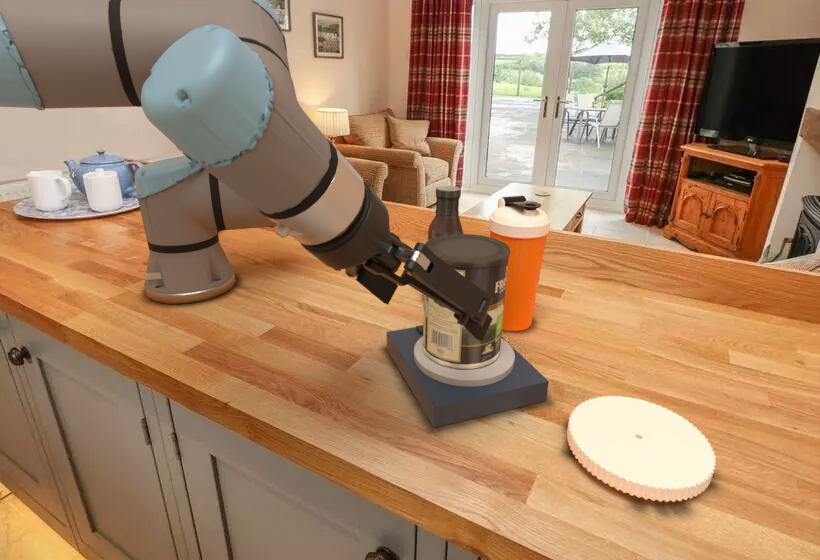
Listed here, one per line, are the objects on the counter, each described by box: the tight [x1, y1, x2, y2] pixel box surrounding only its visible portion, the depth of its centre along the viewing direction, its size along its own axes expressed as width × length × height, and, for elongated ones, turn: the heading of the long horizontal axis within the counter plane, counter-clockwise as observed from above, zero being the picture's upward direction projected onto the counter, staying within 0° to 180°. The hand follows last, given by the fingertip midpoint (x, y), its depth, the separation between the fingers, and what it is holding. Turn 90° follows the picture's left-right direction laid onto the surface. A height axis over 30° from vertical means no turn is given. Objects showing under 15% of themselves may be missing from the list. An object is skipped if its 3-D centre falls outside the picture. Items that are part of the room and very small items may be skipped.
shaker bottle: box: [488, 195, 551, 332], centre depth 76 cm, size 9×9×20 cm
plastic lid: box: [566, 395, 717, 503], centre depth 52 cm, size 14×14×2 cm
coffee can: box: [422, 233, 510, 369], centre depth 61 cm, size 10×10×14 cm
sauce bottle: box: [427, 185, 465, 241], centre depth 83 cm, size 7×6×20 cm
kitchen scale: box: [386, 324, 550, 429], centre depth 65 cm, size 18×15×4 cm
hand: (434, 310), depth 57 cm, fingers open, 13 cm apart
